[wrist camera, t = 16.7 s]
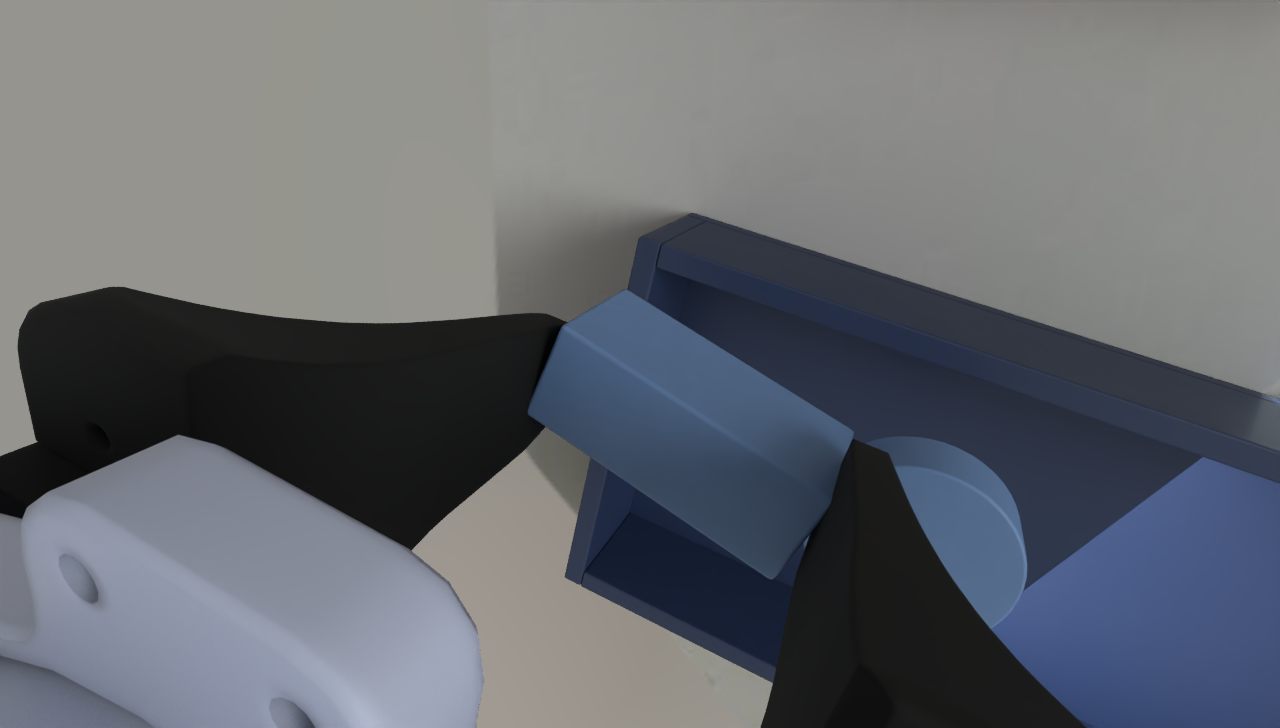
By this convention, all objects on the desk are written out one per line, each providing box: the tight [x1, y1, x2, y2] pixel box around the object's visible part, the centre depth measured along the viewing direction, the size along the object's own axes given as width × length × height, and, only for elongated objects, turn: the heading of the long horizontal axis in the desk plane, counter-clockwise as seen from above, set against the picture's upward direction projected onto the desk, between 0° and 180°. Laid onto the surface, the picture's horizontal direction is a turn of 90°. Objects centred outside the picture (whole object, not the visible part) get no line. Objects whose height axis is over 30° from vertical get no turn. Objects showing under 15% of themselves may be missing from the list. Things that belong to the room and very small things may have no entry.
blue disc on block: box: [528, 289, 1027, 629], centre depth 12 cm, size 9×4×3 cm, turn 64°
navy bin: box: [565, 213, 1280, 728], centre depth 17 cm, size 25×11×4 cm, turn 77°
